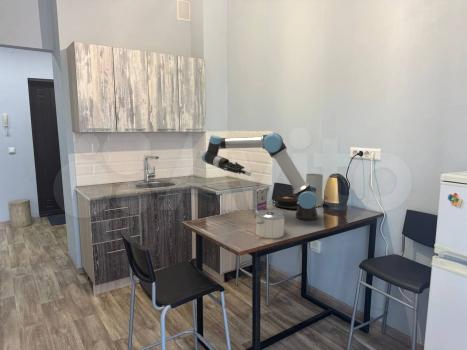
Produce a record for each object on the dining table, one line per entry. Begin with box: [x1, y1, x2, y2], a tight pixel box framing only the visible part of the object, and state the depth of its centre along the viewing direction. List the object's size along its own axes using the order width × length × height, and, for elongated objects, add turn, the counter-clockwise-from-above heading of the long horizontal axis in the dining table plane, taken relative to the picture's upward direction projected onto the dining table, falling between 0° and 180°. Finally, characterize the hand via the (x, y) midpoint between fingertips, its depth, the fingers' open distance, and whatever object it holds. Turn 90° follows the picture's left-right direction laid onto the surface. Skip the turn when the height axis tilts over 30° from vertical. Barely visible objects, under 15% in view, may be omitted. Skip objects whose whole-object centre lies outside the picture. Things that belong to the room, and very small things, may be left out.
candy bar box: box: [252, 187, 268, 212], centre depth 250 cm, size 11×5×16 cm, turn 138°
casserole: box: [272, 194, 299, 210], centre depth 262 cm, size 25×19×8 cm
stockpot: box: [254, 213, 285, 239], centre depth 198 cm, size 17×23×11 cm
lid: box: [253, 209, 286, 220], centre depth 197 cm, size 18×17×2 cm
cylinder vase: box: [305, 173, 324, 208], centre depth 265 cm, size 12×12×25 cm
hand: (250, 173), depth 209 cm, fingers closed
